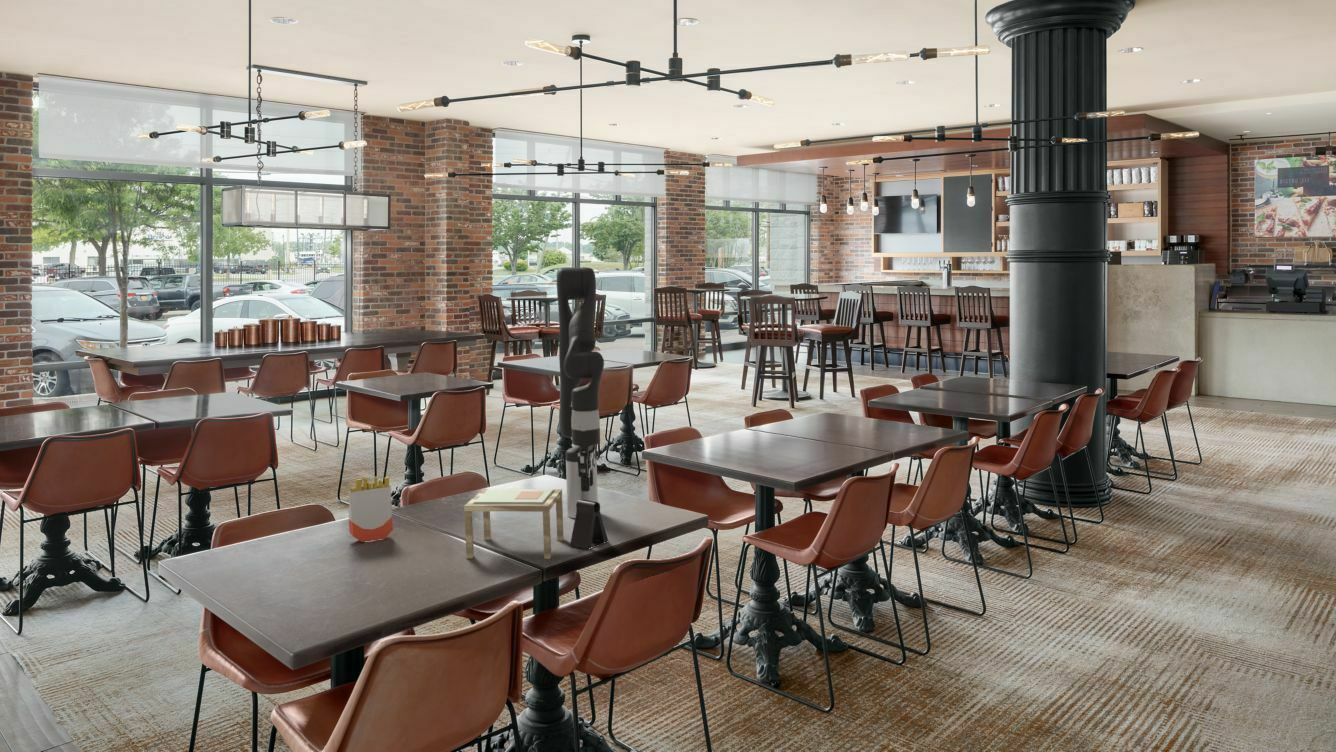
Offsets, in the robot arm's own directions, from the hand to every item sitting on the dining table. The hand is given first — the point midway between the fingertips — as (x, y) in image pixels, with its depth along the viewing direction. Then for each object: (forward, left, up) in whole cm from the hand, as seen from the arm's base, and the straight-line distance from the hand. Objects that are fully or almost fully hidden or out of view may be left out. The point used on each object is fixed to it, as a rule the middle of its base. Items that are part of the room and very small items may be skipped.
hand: (587, 488), depth 253 cm
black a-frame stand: (0, 0, -16) cm, 16 cm away
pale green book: (+4, -19, -3) cm, 20 cm away
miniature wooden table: (+4, -19, -16) cm, 25 cm away
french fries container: (-3, -62, -16) cm, 64 cm away
